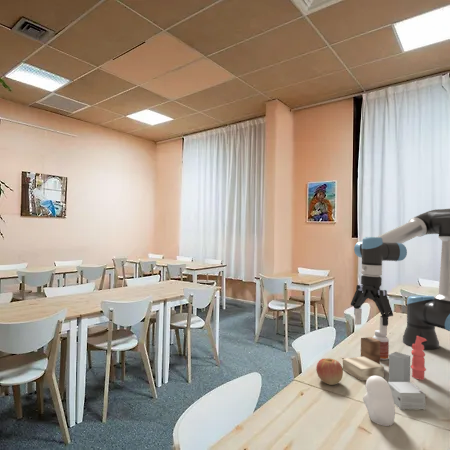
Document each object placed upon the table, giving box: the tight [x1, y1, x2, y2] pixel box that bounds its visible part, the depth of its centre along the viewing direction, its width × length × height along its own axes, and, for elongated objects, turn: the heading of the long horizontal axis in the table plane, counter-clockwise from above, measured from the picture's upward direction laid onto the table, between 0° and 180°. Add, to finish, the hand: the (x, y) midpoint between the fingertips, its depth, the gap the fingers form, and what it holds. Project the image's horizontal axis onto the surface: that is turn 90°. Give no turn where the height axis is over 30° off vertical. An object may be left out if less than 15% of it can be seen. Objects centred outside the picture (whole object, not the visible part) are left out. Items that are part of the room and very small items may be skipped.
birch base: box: [342, 356, 385, 381], centre depth 125 cm, size 10×10×4 cm
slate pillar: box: [388, 351, 411, 382], centre depth 116 cm, size 5×5×10 cm
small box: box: [387, 381, 426, 410], centre depth 103 cm, size 8×8×5 cm
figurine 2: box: [410, 336, 427, 381], centre depth 123 cm, size 5×5×15 cm
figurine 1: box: [362, 376, 396, 427], centre depth 93 cm, size 7×8×12 cm
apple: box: [316, 358, 344, 386], centre depth 116 cm, size 9×9×8 cm
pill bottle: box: [372, 329, 390, 361], centre depth 141 cm, size 6×6×11 cm
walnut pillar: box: [360, 336, 381, 365], centre depth 133 cm, size 5×5×10 cm
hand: (370, 328), depth 134 cm, fingers open, 13 cm apart
